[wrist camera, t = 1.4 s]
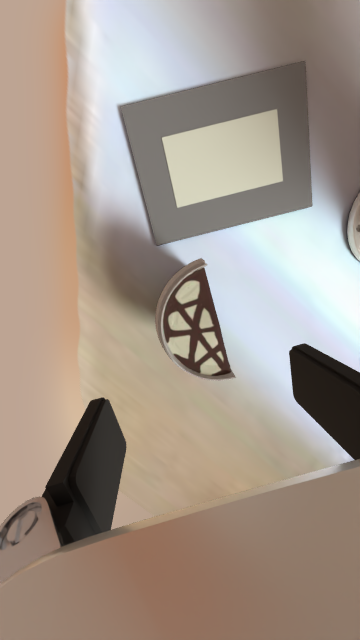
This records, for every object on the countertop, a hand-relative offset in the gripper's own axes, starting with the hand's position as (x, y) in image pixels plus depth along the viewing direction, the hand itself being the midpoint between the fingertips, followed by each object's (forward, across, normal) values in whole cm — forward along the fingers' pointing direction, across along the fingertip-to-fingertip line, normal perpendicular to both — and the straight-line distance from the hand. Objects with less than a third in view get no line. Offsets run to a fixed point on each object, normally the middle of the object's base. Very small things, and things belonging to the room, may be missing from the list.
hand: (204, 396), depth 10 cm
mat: (+18, -10, -16) cm, 26 cm away
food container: (+19, -1, 0) cm, 19 cm away
